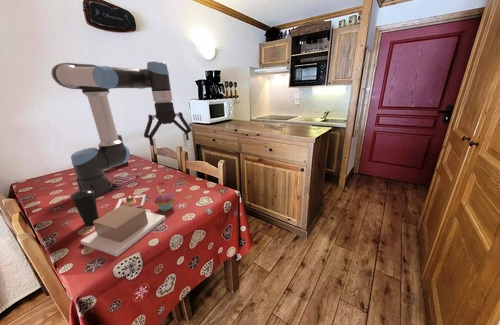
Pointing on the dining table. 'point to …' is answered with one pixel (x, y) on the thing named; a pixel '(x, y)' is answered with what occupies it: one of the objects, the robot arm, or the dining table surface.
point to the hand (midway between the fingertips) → (171, 149)
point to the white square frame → (131, 200)
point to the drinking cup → (85, 204)
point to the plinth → (125, 243)
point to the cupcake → (164, 200)
